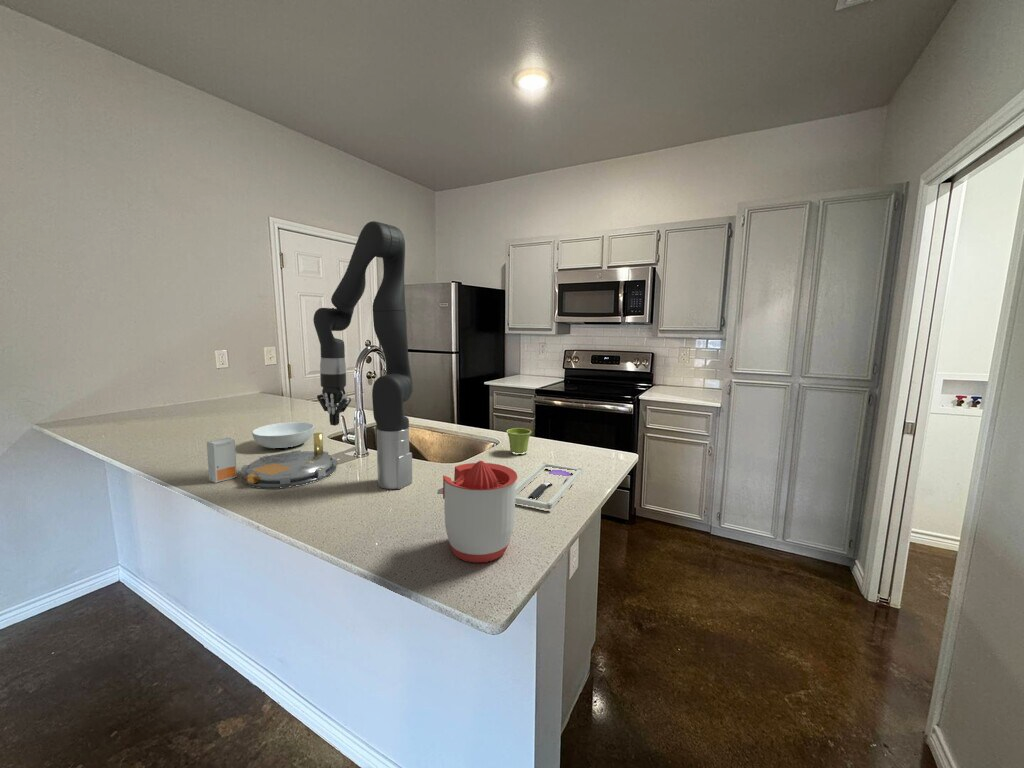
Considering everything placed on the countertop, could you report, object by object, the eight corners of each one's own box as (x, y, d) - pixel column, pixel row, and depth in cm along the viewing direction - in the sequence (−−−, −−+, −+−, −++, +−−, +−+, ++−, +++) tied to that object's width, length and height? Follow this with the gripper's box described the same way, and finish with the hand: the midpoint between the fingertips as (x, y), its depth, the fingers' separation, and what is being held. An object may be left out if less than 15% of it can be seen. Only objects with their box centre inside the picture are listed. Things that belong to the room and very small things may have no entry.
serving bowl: (268, 438, 171) (267, 421, 170) (322, 438, 173) (321, 421, 172) (241, 454, 150) (240, 435, 149) (303, 453, 153) (302, 435, 152)
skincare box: (215, 483, 123) (212, 444, 121) (208, 480, 125) (205, 441, 124) (238, 477, 128) (235, 439, 126) (231, 474, 130) (228, 437, 129)
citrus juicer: (454, 525, 101) (454, 445, 98) (523, 538, 96) (526, 454, 93) (422, 560, 86) (421, 466, 84) (502, 576, 81) (504, 478, 79)
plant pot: (501, 453, 158) (501, 431, 157) (515, 448, 166) (515, 426, 165) (521, 458, 153) (522, 435, 152) (535, 452, 161) (536, 430, 160)
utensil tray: (581, 474, 138) (582, 469, 138) (550, 512, 110) (550, 505, 109) (543, 468, 144) (543, 462, 143) (504, 502, 115) (504, 495, 115)
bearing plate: (353, 467, 140) (353, 464, 139) (282, 495, 116) (282, 491, 116) (298, 455, 150) (298, 452, 150) (223, 478, 127) (223, 475, 126)
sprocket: (354, 463, 140) (354, 437, 138) (282, 491, 116) (280, 459, 114) (298, 451, 150) (297, 427, 149) (221, 474, 126) (219, 445, 125)
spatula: (539, 506, 114) (539, 498, 114) (517, 501, 117) (517, 493, 117) (570, 479, 135) (571, 472, 135) (551, 475, 138) (551, 468, 138)
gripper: (357, 372, 134) (358, 425, 137) (327, 369, 139) (328, 420, 142) (339, 374, 127) (340, 430, 130) (308, 371, 133) (310, 424, 135)
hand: (334, 424), depth 136 cm, fingers closed
